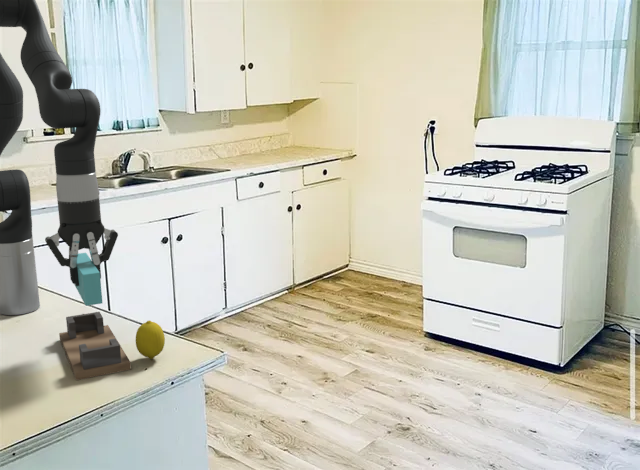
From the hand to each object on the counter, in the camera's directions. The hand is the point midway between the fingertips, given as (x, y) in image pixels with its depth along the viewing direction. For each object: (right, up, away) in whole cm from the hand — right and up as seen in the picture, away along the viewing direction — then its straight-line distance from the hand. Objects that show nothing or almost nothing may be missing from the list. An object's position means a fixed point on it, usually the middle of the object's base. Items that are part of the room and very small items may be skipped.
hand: (86, 283), depth 134 cm
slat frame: (0, -14, +4) cm, 15 cm away
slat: (0, -2, 0) cm, 2 cm away
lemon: (+12, -15, +1) cm, 20 cm away
